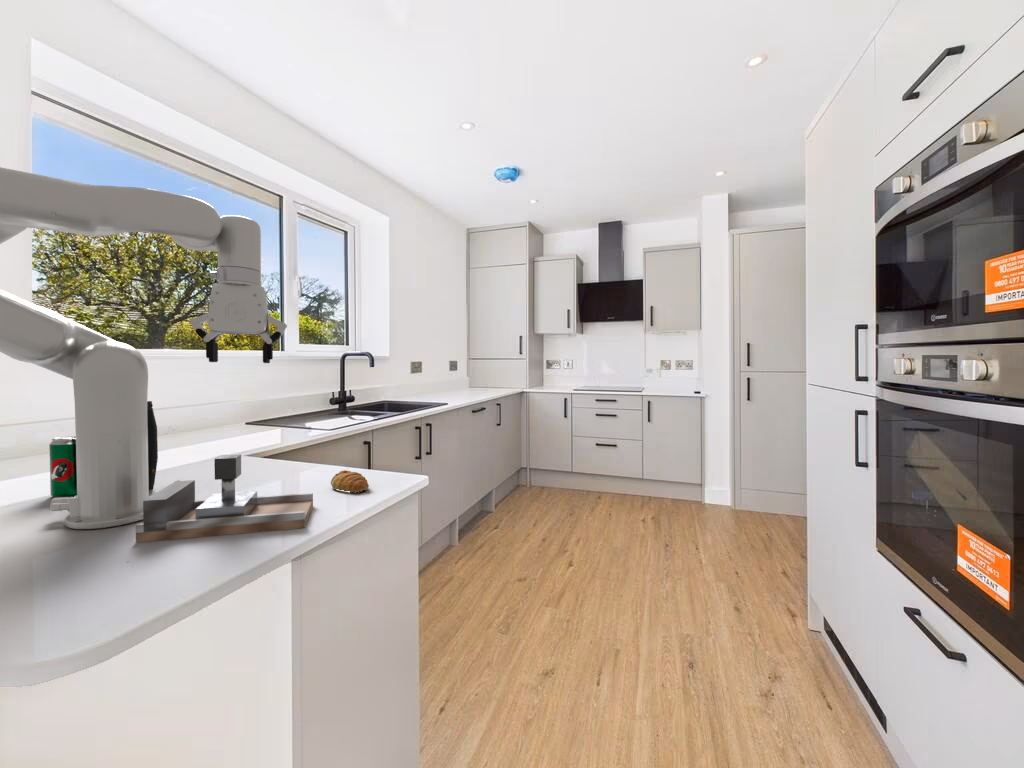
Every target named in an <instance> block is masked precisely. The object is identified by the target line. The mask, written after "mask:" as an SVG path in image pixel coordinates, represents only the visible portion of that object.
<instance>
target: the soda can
mask: <svg viewBox="0 0 1024 768" xmlns="http://www.w3.org/2000/svg"><path fill="white" fill-rule="evenodd" d="M48 445H49V449H48V450H49V482H50V484H49V487H50V492H49V493H50V496H52V498H60V497H68V498H71V497H73V496H76V495H77V463H76V435H75V436H74V435H73V436H63V437H62V436H60V437H55V438H52V439H51V442H50V443H49V444H48Z"/></svg>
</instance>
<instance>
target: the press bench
mask: <svg viewBox="0 0 1024 768" xmlns="http://www.w3.org/2000/svg"><path fill="white" fill-rule="evenodd" d="M206 500H207V499H197V500H196V480H195V479H194V480H193V479H191V480H189V479H188V480H175V481H174V482H172V483H170V484H169V485H167V486H164V487H163V488H162V489H160V490H159V491H157V492H155V493H153V494H152V495H150V496H149V498H147V499H145V500H144V501H143V519H142V520H143V523H142V522H141V523H137V524H135V543H145V542H153V541H154V542H156V541H167V540H178V539H180V540H182V539H192V538H202V537H203V538H204V537H211V536H212V537H213V536H214V537H215V536H225V535H226V536H227V535H236V534H237V535H238V534H247V533H261V532H272V531H273V532H275V531H283V530H293V529H294V530H296V529H304V528H306V525H307V522H308V519H309V518H310V515H311V513H312V510H313V507H314V492H306V493H305V492H303V493H289V494H277V495H274V494H273V495H263V496H261V495H257V504H256V505H255V507H254V508H253V509H252V510H251V512H250V513H249V514H248V515H245V516H232V517H219V518H206V519H195V509H196V508H197V507H199V506H200V505H201V504H202V503H203V502H204V501H206Z"/></svg>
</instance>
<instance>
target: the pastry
mask: <svg viewBox="0 0 1024 768" xmlns="http://www.w3.org/2000/svg"><path fill="white" fill-rule="evenodd" d="M330 485H331V487H332V489H333V488H334V490H335V489H339V490H344V491H350V492H358V493H360V492H364V491H363V490H365V491H367V490H368V488H369V487H370V485H369V482H368V480H367V478H366V477H365V476H363V475H362V473H358V472H356V471H350V470H340V471H339V472H338V473H335V475H334V476H332V478H331V480H330ZM366 489H367V490H366ZM359 491H360V492H359Z"/></svg>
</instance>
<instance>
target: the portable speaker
mask: <svg viewBox="0 0 1024 768" xmlns="http://www.w3.org/2000/svg"><path fill="white" fill-rule="evenodd" d="M153 406H154V404H153V401H151V400H147V426H148V482H149V491H152V490H153V489H154V486H155V481H156V473H157V467H158V460H159V459H158V458H159V456H158V454H159V453H158V452H159V449H158V427H157V426H158V425H157V420H156V417H155V412H154V408H153Z"/></svg>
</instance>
